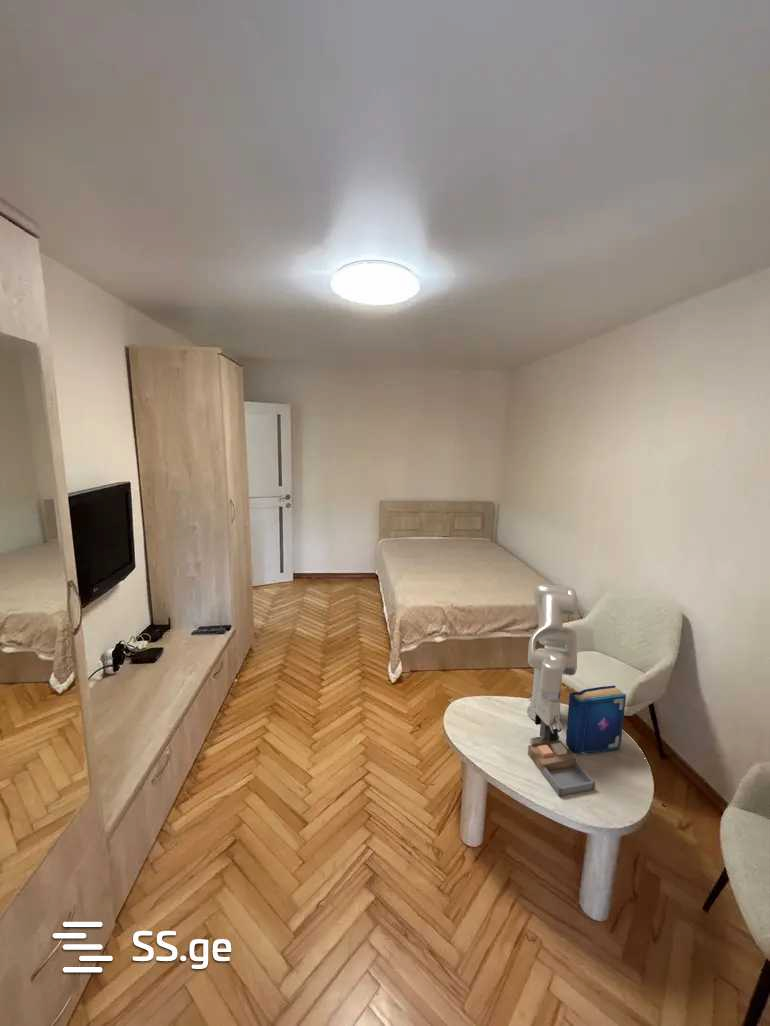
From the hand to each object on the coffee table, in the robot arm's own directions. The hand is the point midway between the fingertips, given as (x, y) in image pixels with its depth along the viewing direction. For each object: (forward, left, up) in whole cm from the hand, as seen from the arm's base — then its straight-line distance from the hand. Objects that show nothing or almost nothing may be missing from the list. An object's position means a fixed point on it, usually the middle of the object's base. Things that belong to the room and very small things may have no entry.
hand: (545, 731), depth 165 cm
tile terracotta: (+5, -3, -5) cm, 7 cm away
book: (+2, +20, -9) cm, 22 cm away
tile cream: (+5, +3, -5) cm, 7 cm away
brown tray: (+5, 0, -9) cm, 10 cm away
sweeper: (0, 0, -5) cm, 5 cm away
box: (+15, 0, -9) cm, 17 cm away
